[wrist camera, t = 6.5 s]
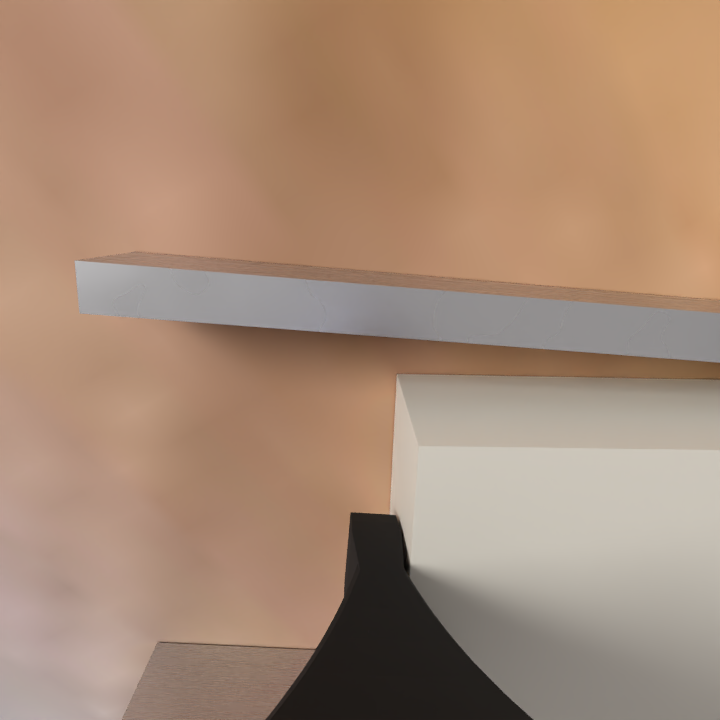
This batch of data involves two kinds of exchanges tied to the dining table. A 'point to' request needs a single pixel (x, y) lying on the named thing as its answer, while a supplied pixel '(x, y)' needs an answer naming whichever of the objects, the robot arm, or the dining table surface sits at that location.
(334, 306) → the shelf slot
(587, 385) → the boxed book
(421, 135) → the dining table surface
